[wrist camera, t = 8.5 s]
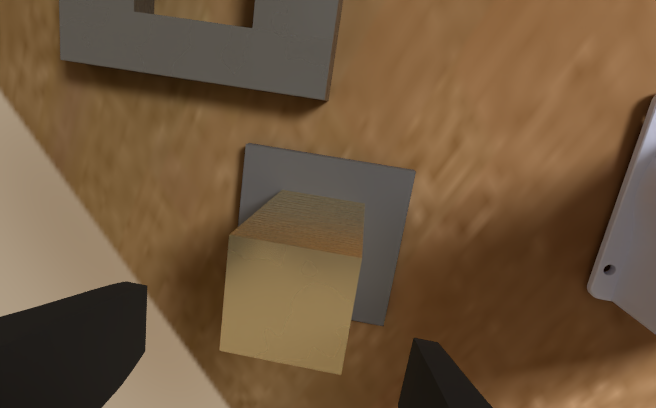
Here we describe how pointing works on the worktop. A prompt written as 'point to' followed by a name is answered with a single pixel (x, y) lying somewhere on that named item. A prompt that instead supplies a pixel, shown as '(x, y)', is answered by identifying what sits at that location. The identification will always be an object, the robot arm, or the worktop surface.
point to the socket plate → (209, 44)
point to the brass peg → (294, 281)
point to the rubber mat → (346, 184)
